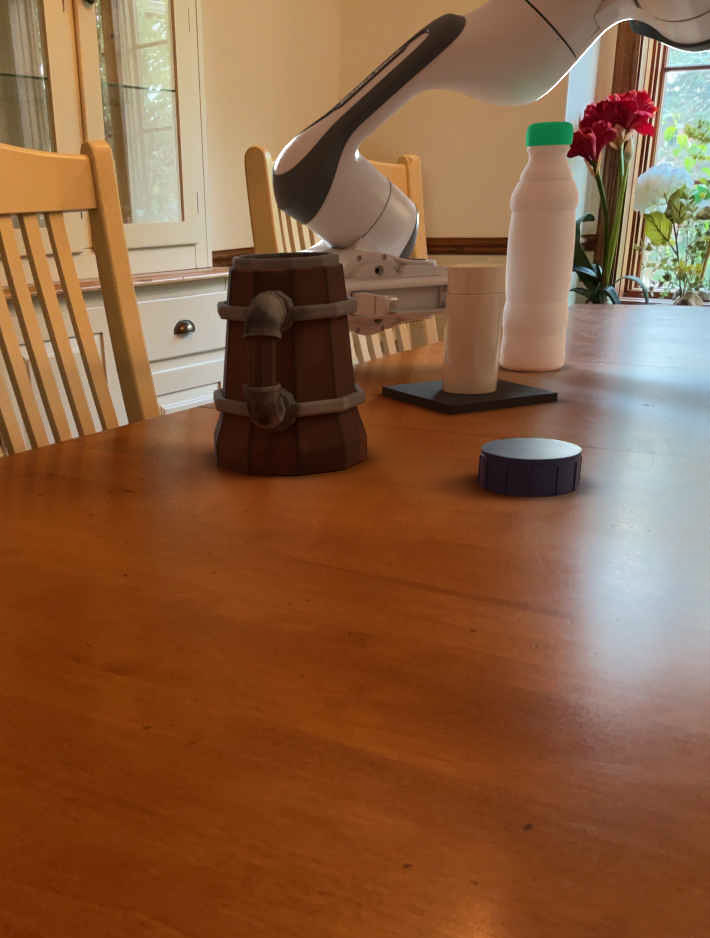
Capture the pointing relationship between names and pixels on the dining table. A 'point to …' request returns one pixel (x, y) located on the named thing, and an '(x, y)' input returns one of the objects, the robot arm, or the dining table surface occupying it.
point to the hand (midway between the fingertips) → (432, 302)
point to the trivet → (468, 397)
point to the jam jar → (472, 328)
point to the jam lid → (530, 467)
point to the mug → (288, 368)
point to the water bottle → (540, 253)
